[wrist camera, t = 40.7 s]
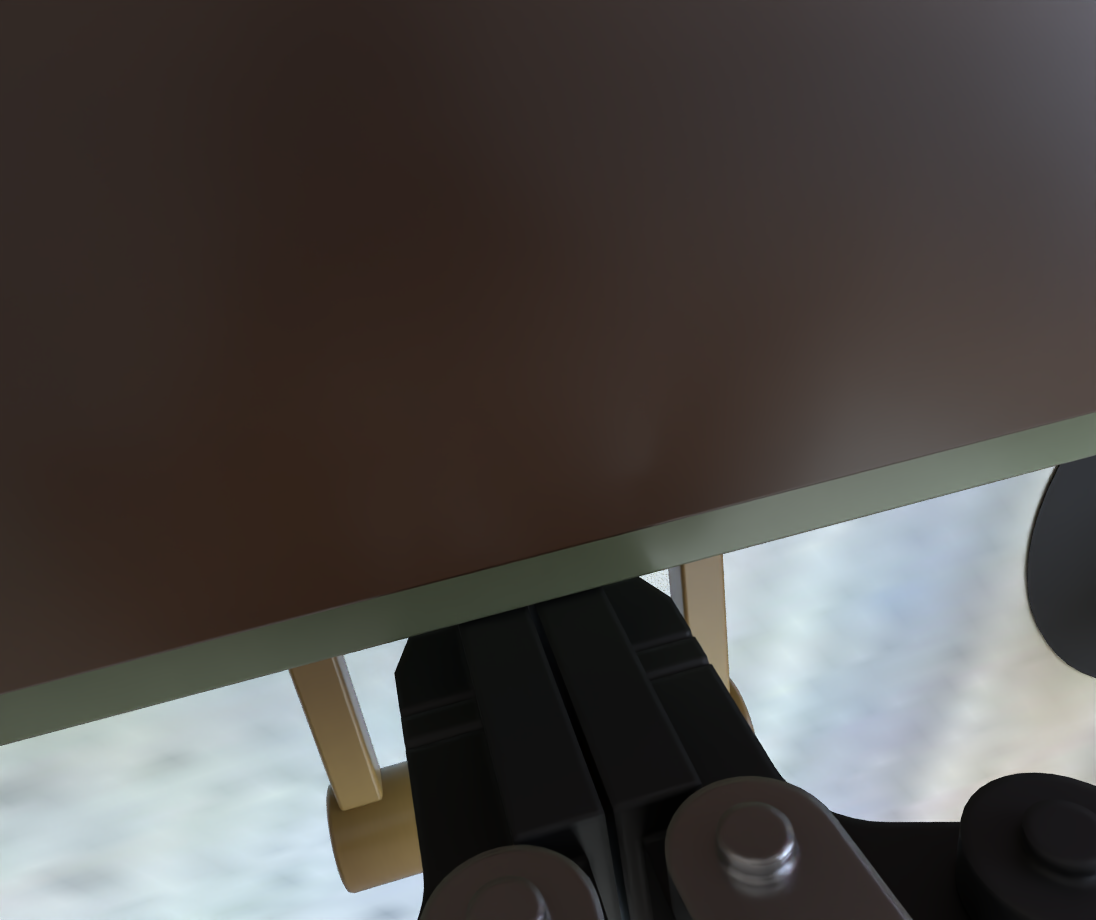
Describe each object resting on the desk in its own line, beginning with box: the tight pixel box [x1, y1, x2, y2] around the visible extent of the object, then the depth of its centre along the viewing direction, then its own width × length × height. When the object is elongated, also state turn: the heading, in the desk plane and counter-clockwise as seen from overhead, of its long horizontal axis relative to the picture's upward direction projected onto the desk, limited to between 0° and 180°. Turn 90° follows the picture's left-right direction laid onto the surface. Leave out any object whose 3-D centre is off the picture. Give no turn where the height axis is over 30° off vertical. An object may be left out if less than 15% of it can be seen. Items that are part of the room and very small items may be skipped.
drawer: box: [0, 412, 1096, 893], centre depth 10 cm, size 20×13×7 cm, turn 9°
